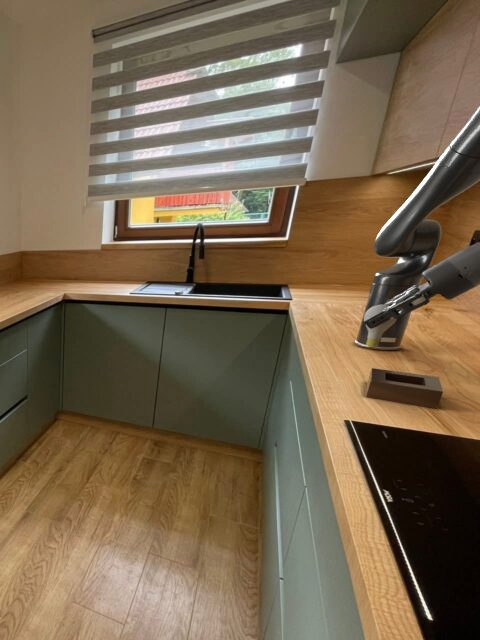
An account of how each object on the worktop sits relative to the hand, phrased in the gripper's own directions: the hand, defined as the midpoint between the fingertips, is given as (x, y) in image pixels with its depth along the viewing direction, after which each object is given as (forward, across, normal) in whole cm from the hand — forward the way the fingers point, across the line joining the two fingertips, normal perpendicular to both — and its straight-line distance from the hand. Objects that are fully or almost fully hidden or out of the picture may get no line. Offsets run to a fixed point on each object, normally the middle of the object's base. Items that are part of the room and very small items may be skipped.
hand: (367, 322), depth 98 cm
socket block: (+3, +13, +14) cm, 19 cm away
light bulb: (+3, 0, +6) cm, 6 cm away
